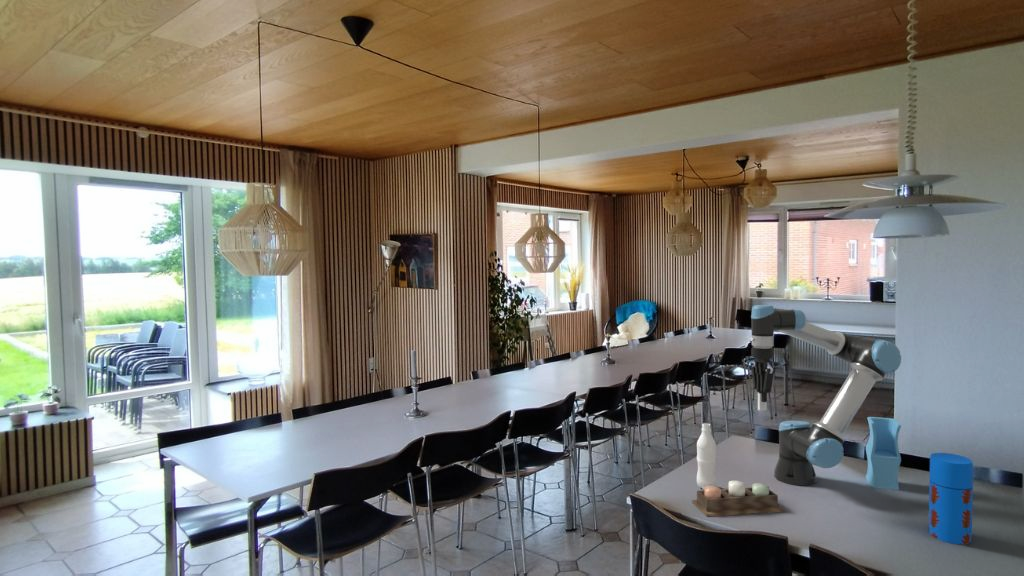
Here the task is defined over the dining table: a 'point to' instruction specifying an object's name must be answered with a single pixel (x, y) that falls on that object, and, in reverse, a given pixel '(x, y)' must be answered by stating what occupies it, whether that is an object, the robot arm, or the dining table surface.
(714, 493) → the pink rounded block
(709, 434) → the water bottle
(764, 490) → the pale green rounded block
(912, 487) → the dining table surface
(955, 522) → the thermos
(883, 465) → the vase
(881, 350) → the robot arm
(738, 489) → the cream key
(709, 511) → the brown wooden holder
